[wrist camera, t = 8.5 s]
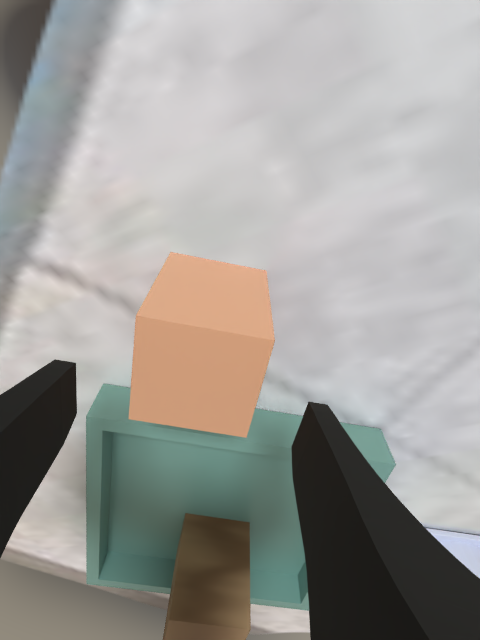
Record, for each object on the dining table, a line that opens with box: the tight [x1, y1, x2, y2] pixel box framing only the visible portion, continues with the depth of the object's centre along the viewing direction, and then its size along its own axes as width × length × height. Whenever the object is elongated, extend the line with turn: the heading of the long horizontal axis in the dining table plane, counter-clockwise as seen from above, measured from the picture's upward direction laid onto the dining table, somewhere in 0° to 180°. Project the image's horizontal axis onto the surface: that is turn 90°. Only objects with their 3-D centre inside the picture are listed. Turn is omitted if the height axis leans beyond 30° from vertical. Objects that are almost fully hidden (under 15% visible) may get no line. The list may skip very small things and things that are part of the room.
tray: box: [86, 384, 396, 611], centre depth 24 cm, size 16×16×2 cm
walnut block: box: [163, 513, 250, 640], centre depth 23 cm, size 4×4×6 cm
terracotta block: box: [129, 252, 275, 438], centre depth 15 cm, size 4×4×6 cm
